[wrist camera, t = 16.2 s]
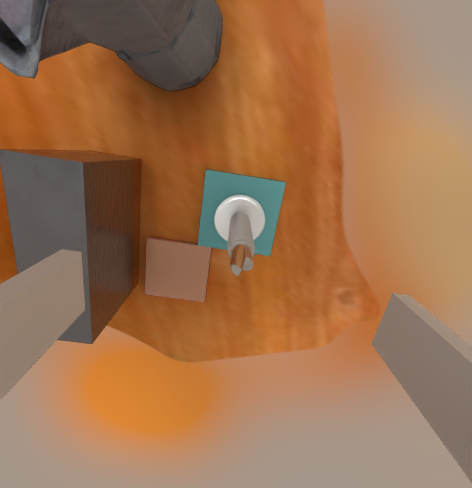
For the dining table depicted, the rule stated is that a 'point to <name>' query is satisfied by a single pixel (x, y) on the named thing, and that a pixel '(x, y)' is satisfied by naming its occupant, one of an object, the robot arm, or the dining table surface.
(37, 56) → the moka pot
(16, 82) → the dining table surface
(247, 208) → the screw
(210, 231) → the teal pad
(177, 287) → the terracotta pad
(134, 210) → the grey unit
